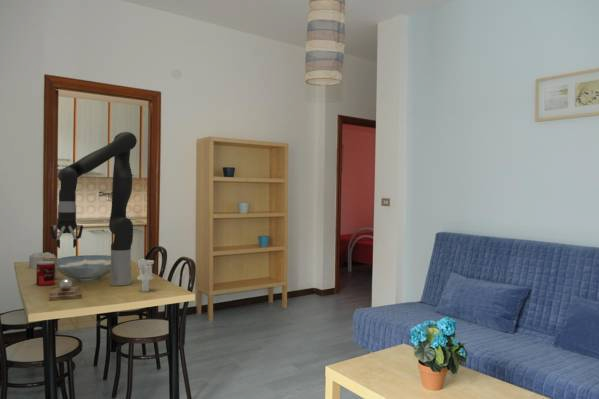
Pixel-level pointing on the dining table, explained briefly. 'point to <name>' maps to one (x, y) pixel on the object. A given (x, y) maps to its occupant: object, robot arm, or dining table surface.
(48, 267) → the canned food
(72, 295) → the wooden cutting board
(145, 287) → the white tall piece
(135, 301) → the dining table surface
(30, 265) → the lumpy-topped squat cylinder
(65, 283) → the ball
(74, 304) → the dining table surface
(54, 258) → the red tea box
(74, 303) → the dining table surface
